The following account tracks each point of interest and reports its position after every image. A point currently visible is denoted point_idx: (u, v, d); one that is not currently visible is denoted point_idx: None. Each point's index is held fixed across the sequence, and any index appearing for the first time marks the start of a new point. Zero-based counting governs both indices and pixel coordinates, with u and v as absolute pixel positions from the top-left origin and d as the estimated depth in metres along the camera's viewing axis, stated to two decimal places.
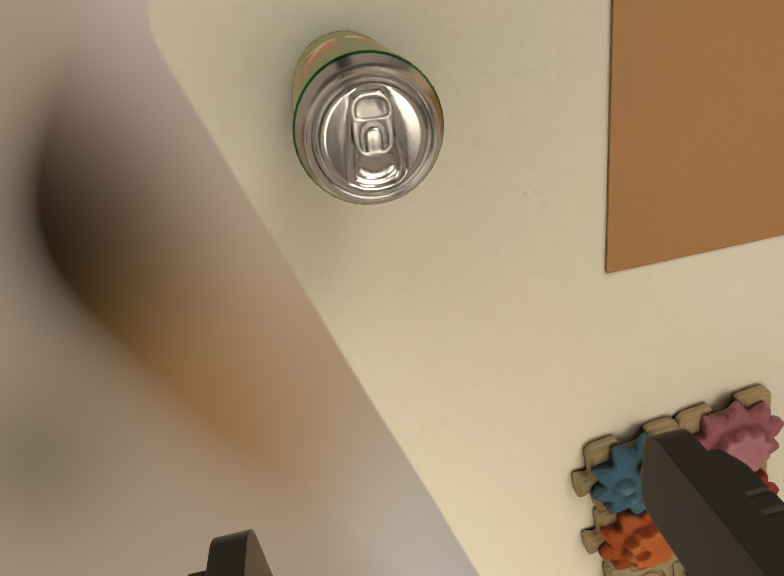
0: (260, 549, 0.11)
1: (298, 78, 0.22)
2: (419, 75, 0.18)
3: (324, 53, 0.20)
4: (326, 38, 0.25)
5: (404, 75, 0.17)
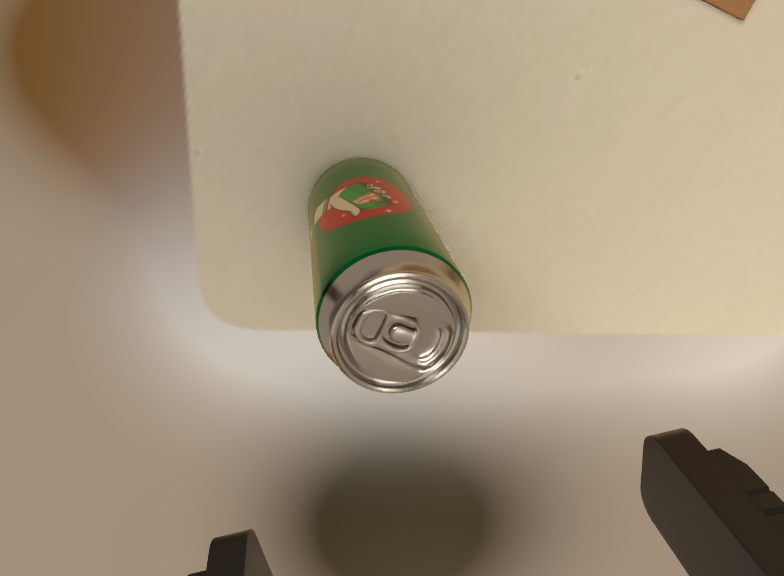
0: (260, 549, 0.11)
1: None
2: (372, 258, 0.17)
3: None
4: (309, 222, 0.25)
5: (362, 286, 0.16)
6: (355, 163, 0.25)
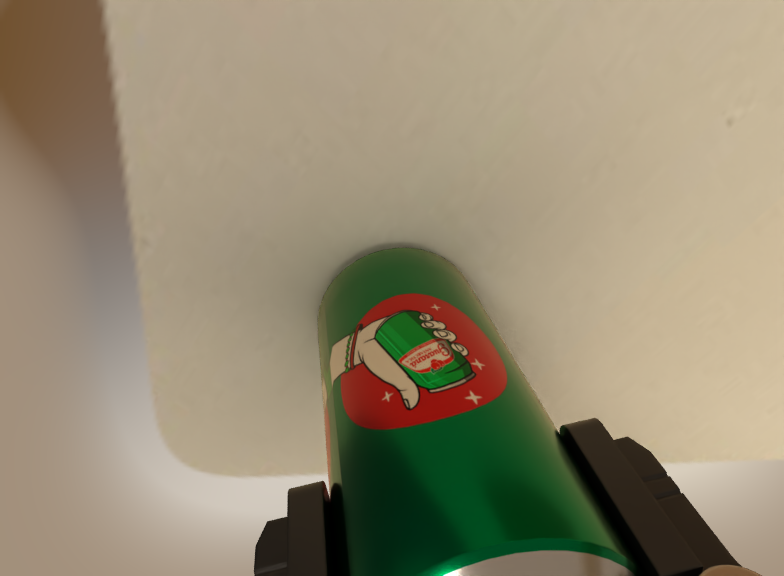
0: None
1: None
2: (470, 574, 0.08)
3: None
4: (321, 357, 0.16)
5: None
6: (392, 260, 0.16)
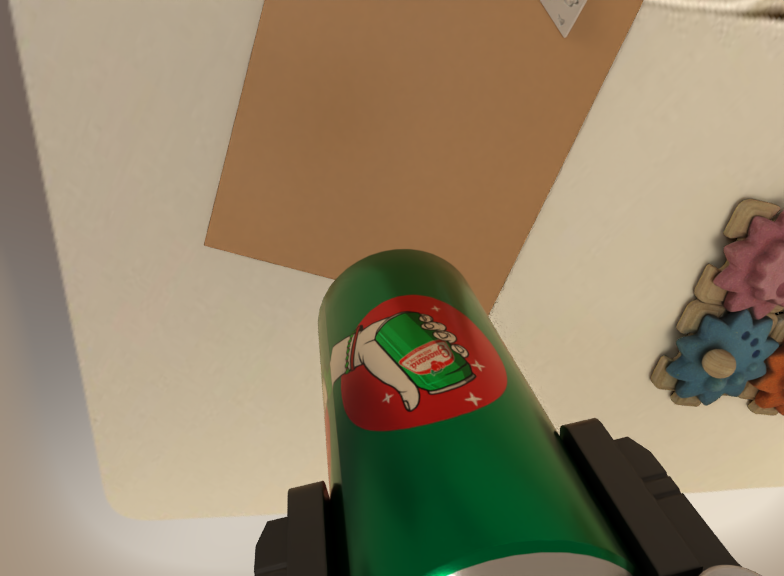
0: None
1: None
2: None
3: (332, 521, 0.11)
4: (321, 358, 0.16)
5: None
6: (393, 262, 0.16)
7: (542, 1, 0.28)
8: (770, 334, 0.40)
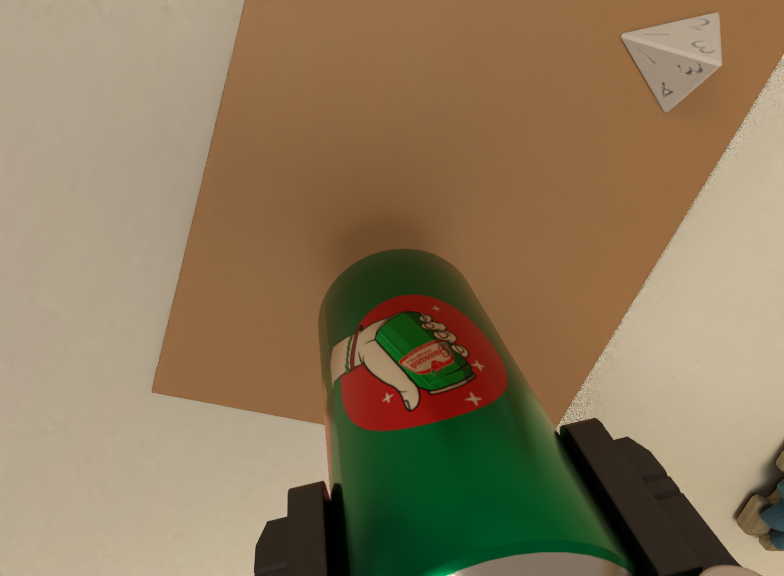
0: (330, 501, 0.12)
1: None
2: None
3: (332, 521, 0.11)
4: (321, 358, 0.16)
5: None
6: (393, 262, 0.16)
7: (639, 63, 0.19)
8: None
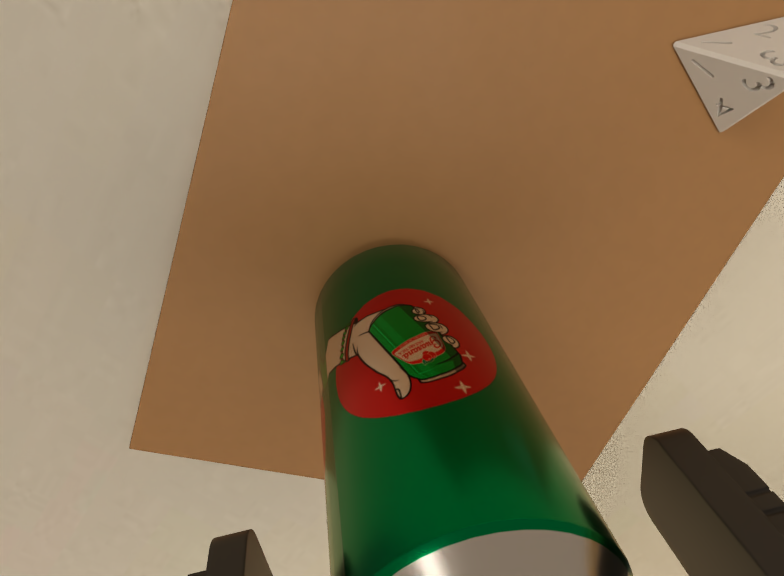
0: (260, 549, 0.11)
1: None
2: (455, 551, 0.08)
3: (326, 506, 0.12)
4: (317, 350, 0.16)
5: None
6: (387, 257, 0.16)
7: (693, 76, 0.17)
8: None
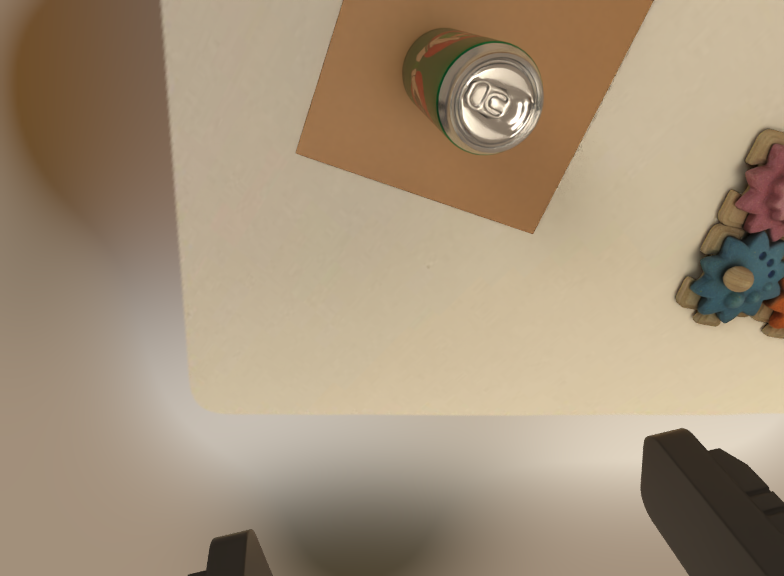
0: (260, 549, 0.11)
1: (425, 113, 0.30)
2: (479, 47, 0.25)
3: (424, 91, 0.28)
4: (408, 70, 0.33)
5: (474, 61, 0.24)
6: (442, 29, 0.33)
7: None
8: None
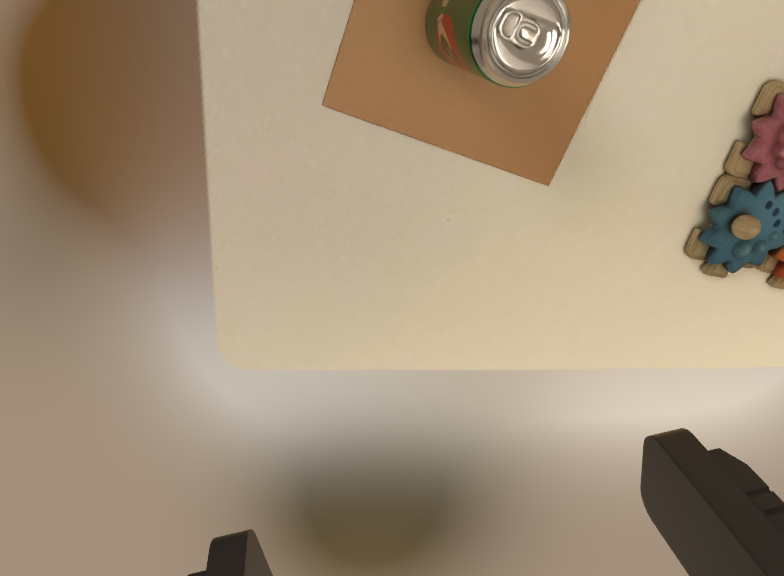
0: (260, 549, 0.11)
1: (453, 55, 0.32)
2: None
3: (454, 29, 0.30)
4: (433, 18, 0.34)
5: None
6: None
7: None
8: None
